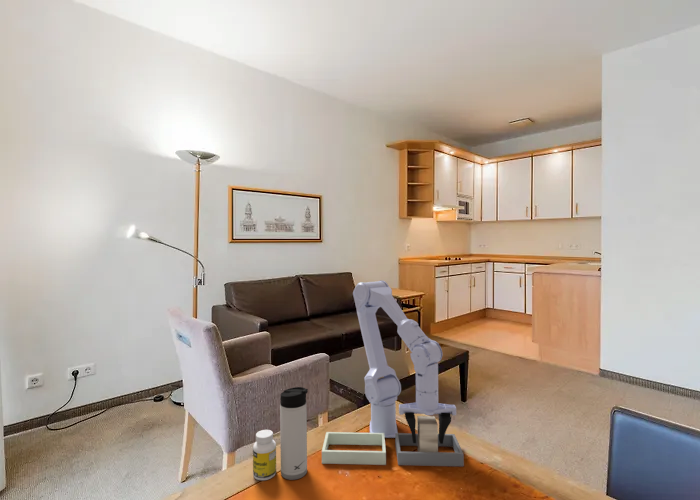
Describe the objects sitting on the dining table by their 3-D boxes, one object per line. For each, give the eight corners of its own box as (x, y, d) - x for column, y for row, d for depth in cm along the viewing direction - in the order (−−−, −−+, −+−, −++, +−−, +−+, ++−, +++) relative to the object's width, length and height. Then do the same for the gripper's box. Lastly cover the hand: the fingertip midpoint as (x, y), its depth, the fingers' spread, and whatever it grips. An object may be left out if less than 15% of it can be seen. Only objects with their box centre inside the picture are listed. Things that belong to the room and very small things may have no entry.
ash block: (417, 450, 99) (417, 416, 99) (434, 450, 98) (434, 416, 98) (420, 459, 94) (419, 424, 94) (438, 459, 94) (437, 424, 94)
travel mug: (303, 482, 85) (302, 395, 85) (276, 478, 87) (275, 393, 87) (311, 466, 91) (311, 385, 92) (286, 463, 93) (285, 383, 93)
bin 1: (326, 442, 103) (326, 432, 103) (384, 443, 102) (384, 432, 102) (321, 463, 93) (321, 451, 93) (385, 464, 92) (385, 452, 92)
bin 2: (395, 444, 102) (395, 433, 102) (454, 445, 101) (454, 434, 101) (398, 465, 92) (398, 452, 92) (463, 466, 91) (463, 454, 91)
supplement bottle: (248, 477, 87) (247, 435, 87) (263, 465, 92) (263, 426, 92) (266, 484, 85) (265, 441, 85) (281, 471, 90) (280, 430, 90)
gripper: (400, 394, 93) (400, 449, 93) (458, 395, 92) (459, 450, 92) (397, 384, 100) (398, 435, 100) (452, 385, 99) (453, 436, 99)
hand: (427, 441), depth 96 cm, fingers open, 6 cm apart
